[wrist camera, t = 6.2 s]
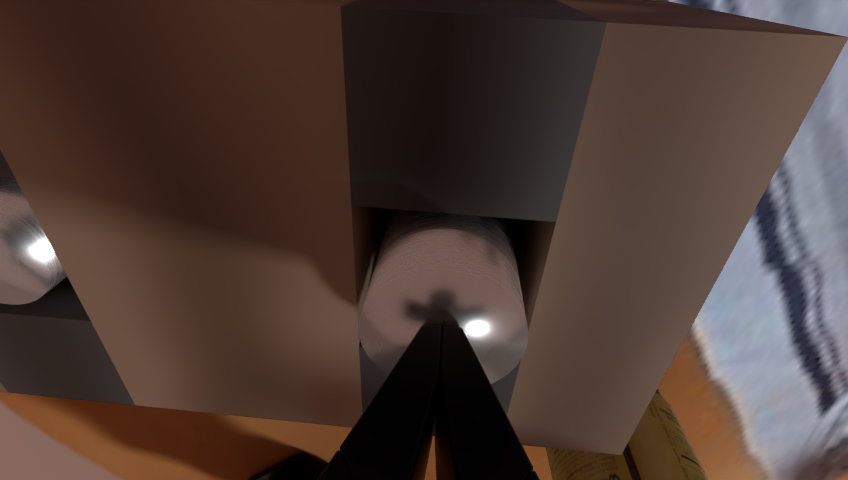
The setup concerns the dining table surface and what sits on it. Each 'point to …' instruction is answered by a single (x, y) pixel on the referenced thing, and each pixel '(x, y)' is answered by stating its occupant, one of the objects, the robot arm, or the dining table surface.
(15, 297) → the peg
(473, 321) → the peg
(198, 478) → the dining table surface
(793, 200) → the dining table surface
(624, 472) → the sauce bottle
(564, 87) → the walnut block
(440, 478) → the robot arm
